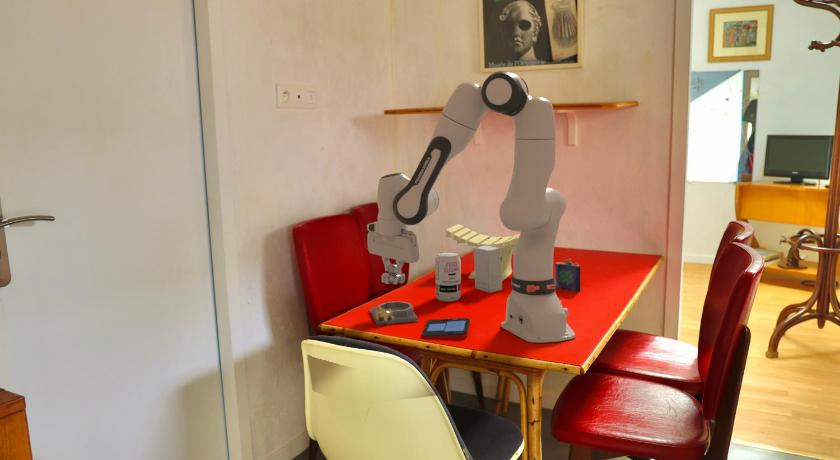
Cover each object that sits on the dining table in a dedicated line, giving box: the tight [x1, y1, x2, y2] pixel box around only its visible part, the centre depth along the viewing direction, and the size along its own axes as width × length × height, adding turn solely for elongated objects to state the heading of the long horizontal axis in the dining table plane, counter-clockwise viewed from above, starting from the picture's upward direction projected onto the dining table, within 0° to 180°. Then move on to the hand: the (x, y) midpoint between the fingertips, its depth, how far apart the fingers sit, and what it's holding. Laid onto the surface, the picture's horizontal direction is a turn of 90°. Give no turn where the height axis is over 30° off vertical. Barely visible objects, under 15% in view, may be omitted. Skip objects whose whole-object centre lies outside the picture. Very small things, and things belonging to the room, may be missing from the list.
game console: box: [420, 317, 471, 340], centre depth 183 cm, size 14×13×2 cm
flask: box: [554, 258, 581, 293], centre depth 222 cm, size 9×3×11 cm, turn 50°
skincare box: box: [473, 245, 503, 293], centre depth 224 cm, size 8×6×15 cm
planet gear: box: [381, 263, 406, 285], centre depth 197 cm, size 7×7×5 cm
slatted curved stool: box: [445, 223, 520, 282], centre depth 245 cm, size 30×16×18 cm, turn 67°
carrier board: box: [369, 300, 419, 326], centre depth 197 cm, size 14×12×3 cm
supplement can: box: [434, 251, 462, 302], centre depth 214 cm, size 8×8×15 cm
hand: (393, 272), depth 197 cm, fingers closed on planet gear, 3 cm apart
